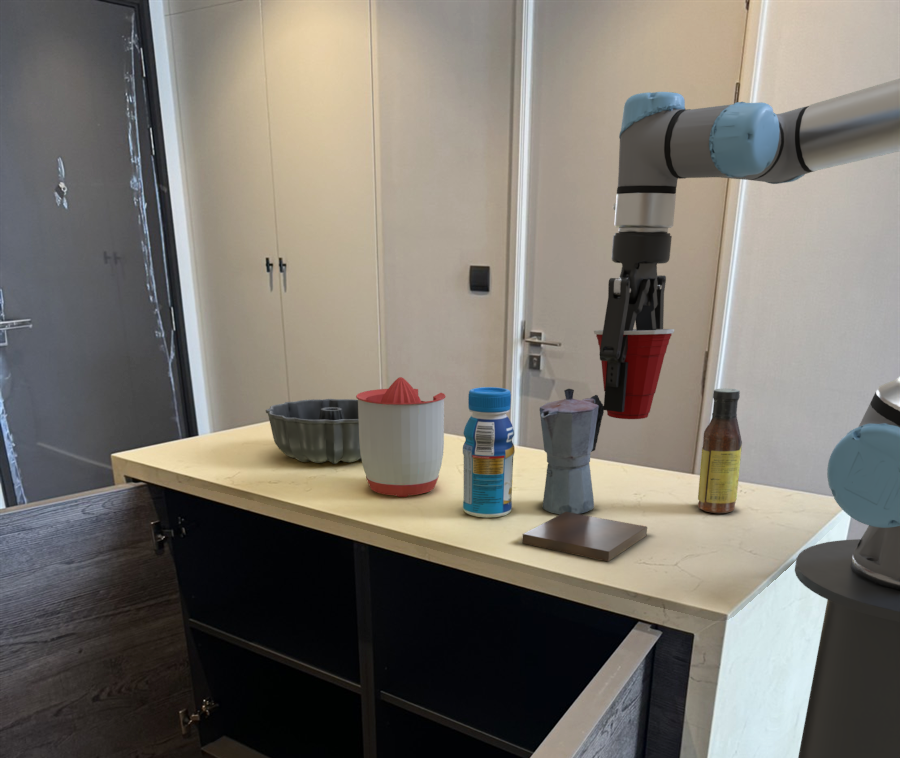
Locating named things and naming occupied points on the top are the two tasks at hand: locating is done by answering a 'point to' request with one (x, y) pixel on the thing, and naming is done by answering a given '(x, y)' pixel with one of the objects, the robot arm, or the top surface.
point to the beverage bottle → (488, 453)
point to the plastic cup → (640, 370)
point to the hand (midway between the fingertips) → (627, 405)
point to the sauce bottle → (721, 455)
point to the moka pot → (570, 452)
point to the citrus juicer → (401, 439)
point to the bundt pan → (317, 429)
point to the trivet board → (585, 535)
